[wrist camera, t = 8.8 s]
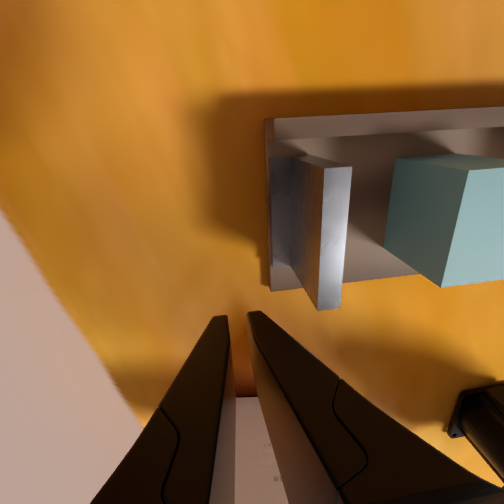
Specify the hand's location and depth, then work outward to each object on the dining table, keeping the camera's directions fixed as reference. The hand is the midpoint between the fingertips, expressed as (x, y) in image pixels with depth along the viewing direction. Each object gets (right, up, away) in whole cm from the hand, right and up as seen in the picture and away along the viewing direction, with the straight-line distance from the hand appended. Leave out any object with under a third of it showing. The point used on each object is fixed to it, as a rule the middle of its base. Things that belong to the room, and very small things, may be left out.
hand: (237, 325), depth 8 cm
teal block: (+11, +5, +11) cm, 17 cm away
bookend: (+3, +5, +10) cm, 11 cm away
